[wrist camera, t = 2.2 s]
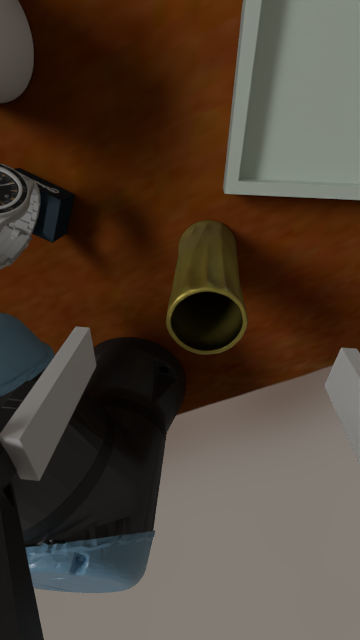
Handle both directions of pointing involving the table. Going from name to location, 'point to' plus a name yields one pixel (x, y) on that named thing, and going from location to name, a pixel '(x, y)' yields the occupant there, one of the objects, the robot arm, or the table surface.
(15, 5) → the candle holder
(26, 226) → the watch
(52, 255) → the table surface
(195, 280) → the vase
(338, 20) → the tray
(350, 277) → the table surface
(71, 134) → the table surface
